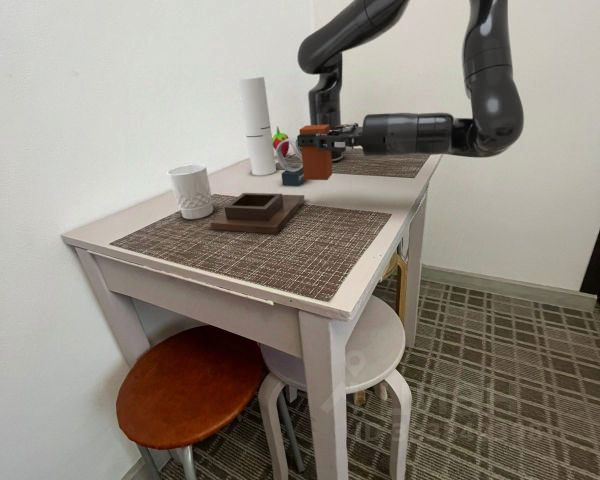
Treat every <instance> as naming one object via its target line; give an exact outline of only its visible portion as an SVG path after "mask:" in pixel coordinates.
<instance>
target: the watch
mask: <svg viewBox="0 0 600 480" xmlns="http://www.w3.org/2000/svg"><path fill="white" fill-rule="evenodd" d="M287 141H288V142H289V145H290V146H291V149H292V152H293V153H294V155H295V156H296V157H297V158H299V160H300V162H301V165H300V167H299V166H298V167H297V166H290V165H289V163H288V162H287V160H286V159H285V156H283V155H282V153H281V151H280V150H281V145H282V144H283V143H284V142H287ZM275 153H276V154H275V157H276V159H277V161H278V163H279V165H280V166H281V168H282V169H283V170H284V171H283V172H281V174H280V175H281V181H282V183H281V184H282V186H291V187H299V186H300V185H301V184H303V183H304V182H305V180H304V174H303V163H302V152H301V147H300V146H298V142H297V138H294V137H288V139H286V140H284V141H282V142H281V143H279V145H278V146H277V149H276V150H275Z"/></svg>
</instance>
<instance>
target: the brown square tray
mask: <svg viewBox="0 0 600 480" xmlns="http://www.w3.org/2000/svg"><path fill="white" fill-rule="evenodd" d="M305 202H306V201H305V195H304V194H283V193H267V192H266V193H264V192H242V193H241V194H239V195H238V196H237V197H235V199H232V200H231V201H230V202H229V203H227V204H226V205H225V206H224V207H223V208H224V211H223V212H222V213H220V214H219V215H218V216H217V217H215V218H214V219H213V220H212V221H210V227H211V230H215V231H229V232H243V233H256V234H257V233H258V234H273V235H278V234H279V232H281V231H282V229H283V228H284V227H285V226H286V224H287V223H288V222H289V221H290V220H291V218H292V217H293V216H294V215H295V214H296V212H297V211H298V210H299V209H300V207H301V206H302V205H303V204H304V203H305Z"/></svg>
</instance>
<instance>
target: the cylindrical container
mask: <svg viewBox="0 0 600 480" xmlns="http://www.w3.org/2000/svg"><path fill="white" fill-rule="evenodd" d="M236 83H237V90H238V95H239V102H240V108H241V113H242V114H241V115H242V119H243V126H244V131H245V138H246V143H247V151H248V155H249V161H250V162H249V163H250V167H251V173H252V175H253V176H266V175H271V174H274V173H276V172H277V166H276V158H275V157H276V156H275V148H274V147H273V142H272V138H273V136H272V128H271V120H270V111H269V104H268V98H267V90H266V89H267V88H266V81H265V76H258V77H250V78H249V77H248V78H240V79H236Z"/></svg>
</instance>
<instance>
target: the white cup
mask: <svg viewBox="0 0 600 480" xmlns="http://www.w3.org/2000/svg"><path fill="white" fill-rule="evenodd" d="M166 174H167V177H168V180H169V183H170V186H171V189H172V192H173V195H174V197H175V199H176V202H177V205H178V207H179V209H180V212H181V215H182V218H184V219H186V220H197V219H203V218H205V217H208V216H210V215H211V214H212V213H213V212H214V206H213V200H212V191H211V185H210V181H209V175H208V170H207V165H206V164H203V163H191V164H184V165H180V166H176V167H173V168H171V169H169V170H167V172H166Z"/></svg>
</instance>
